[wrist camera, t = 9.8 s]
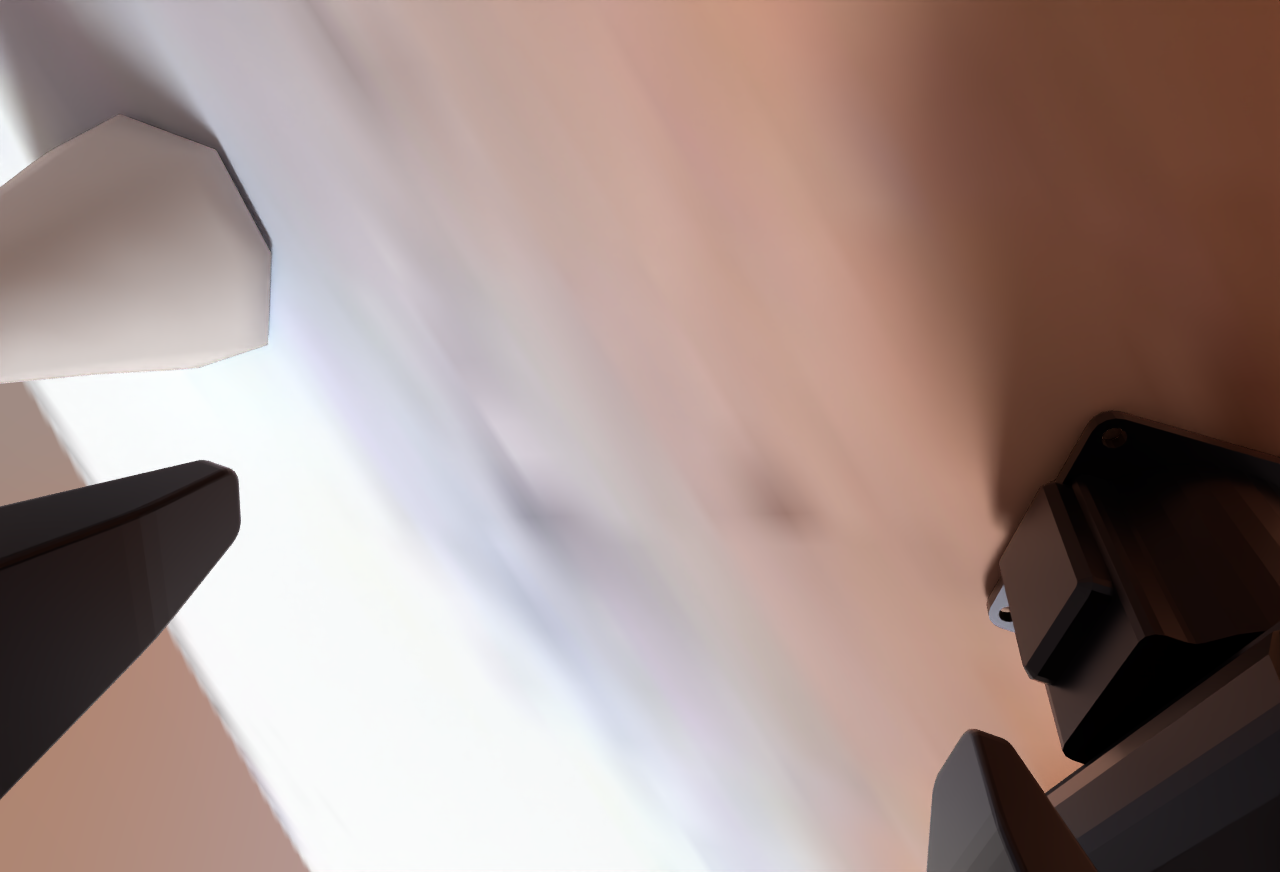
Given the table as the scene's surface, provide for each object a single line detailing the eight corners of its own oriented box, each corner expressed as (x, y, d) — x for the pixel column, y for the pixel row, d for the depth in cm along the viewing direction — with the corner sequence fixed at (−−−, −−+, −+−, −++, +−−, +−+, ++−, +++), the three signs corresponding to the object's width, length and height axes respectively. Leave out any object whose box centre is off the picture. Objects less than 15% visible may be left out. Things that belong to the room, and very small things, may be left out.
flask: (21, 114, 22) (-512, 177, 14) (243, 111, 20) (-207, 181, 12) (110, 357, 26) (-274, 531, 17) (307, 371, 24) (-9, 572, 15)
